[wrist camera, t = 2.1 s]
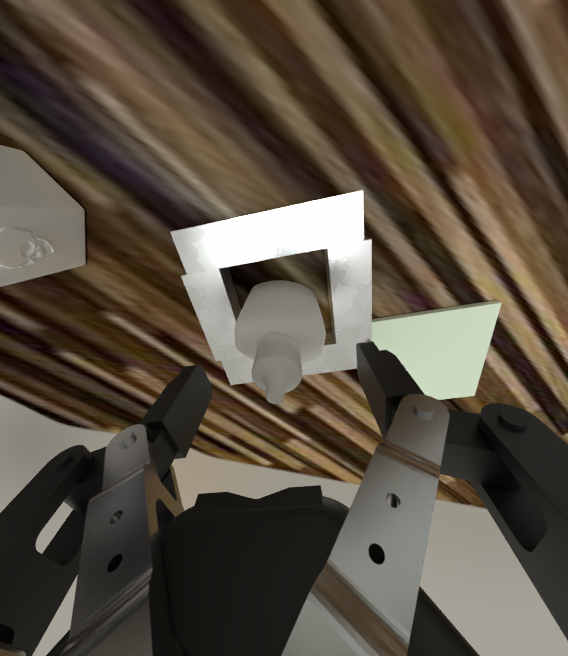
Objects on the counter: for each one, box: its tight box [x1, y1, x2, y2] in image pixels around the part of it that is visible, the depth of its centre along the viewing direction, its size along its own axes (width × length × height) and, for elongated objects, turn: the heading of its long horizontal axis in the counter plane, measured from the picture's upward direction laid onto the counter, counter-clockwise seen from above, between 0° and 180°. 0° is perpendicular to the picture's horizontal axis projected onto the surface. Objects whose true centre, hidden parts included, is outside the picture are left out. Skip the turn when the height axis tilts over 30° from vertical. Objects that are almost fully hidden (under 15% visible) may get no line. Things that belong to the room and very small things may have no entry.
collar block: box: [170, 190, 372, 385], centre depth 19 cm, size 14×14×2 cm
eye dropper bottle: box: [235, 280, 326, 404], centre depth 14 cm, size 4×6×12 cm
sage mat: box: [369, 300, 501, 400], centre depth 22 cm, size 11×11×1 cm
